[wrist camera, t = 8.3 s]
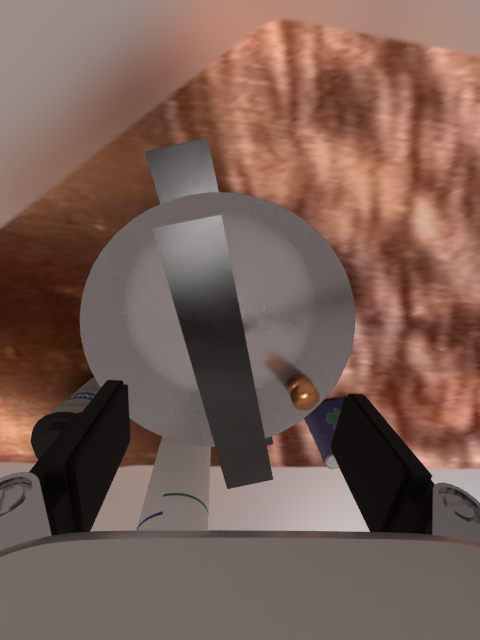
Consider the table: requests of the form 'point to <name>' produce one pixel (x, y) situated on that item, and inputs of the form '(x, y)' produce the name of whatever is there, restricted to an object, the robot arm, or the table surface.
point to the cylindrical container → (178, 489)
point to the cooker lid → (219, 323)
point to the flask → (325, 427)
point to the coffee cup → (61, 417)
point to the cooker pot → (183, 174)
